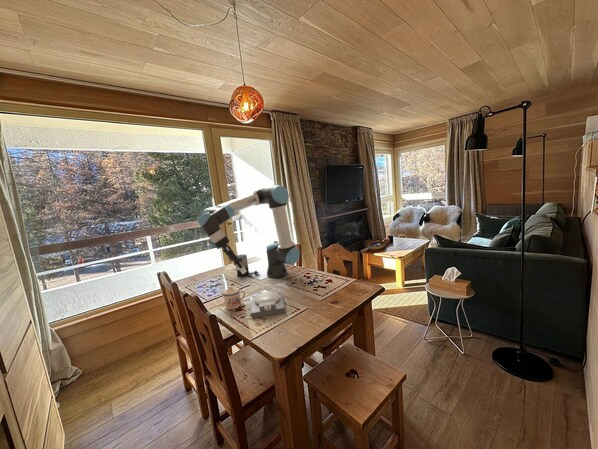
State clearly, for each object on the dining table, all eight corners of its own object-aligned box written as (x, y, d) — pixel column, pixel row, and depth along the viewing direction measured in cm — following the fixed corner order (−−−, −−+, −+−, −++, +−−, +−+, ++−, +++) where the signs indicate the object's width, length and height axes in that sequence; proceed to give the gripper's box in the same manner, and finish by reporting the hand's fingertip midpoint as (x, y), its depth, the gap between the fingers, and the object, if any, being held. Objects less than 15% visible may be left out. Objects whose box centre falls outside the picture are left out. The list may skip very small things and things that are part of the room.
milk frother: (236, 273, 196) (234, 255, 194) (257, 270, 201) (254, 252, 198) (238, 280, 183) (235, 260, 180) (259, 275, 187) (257, 256, 185)
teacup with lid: (227, 311, 136) (224, 291, 134) (223, 305, 144) (220, 286, 142) (248, 304, 142) (246, 285, 140) (243, 299, 150) (241, 280, 148)
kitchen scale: (253, 301, 146) (251, 290, 145) (282, 296, 148) (281, 286, 147) (251, 318, 127) (250, 307, 126) (285, 313, 129) (284, 301, 128)
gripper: (211, 242, 145) (233, 271, 149) (215, 244, 122) (240, 279, 126) (222, 234, 147) (243, 264, 151) (228, 235, 124) (253, 269, 128)
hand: (242, 270), depth 139 cm, fingers open, 13 cm apart
